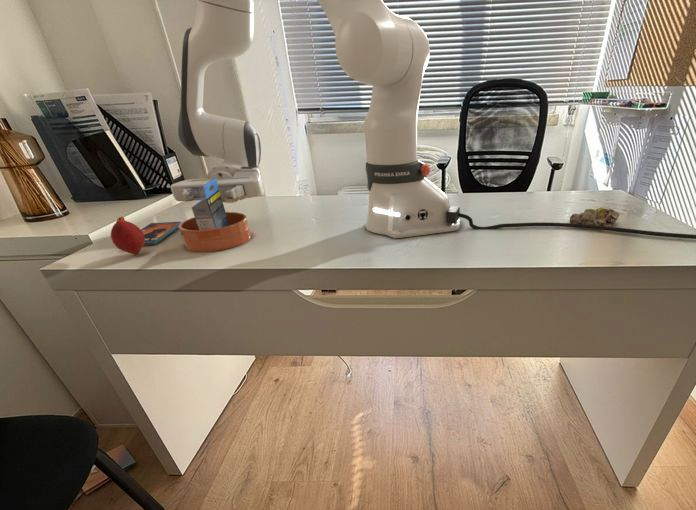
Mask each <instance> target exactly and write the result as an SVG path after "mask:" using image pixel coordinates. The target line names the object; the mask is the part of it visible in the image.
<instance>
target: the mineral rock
mask: <svg viewBox="0 0 696 510" xmlns="http://www.w3.org/2000/svg"><path fill="white" fill-rule="evenodd" d="M619 217H620V212H618V211H616V210H614V209H613V208H605V207H599V208H595V209H593V208H586V209H585V210H584V212H580V213H572V214H571V216H570V217H569V223H573V224H587V225H598V226H608V227H613V225H614V224H615V223H616V222H617V221H618V220H619Z"/></svg>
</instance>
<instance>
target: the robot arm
mask: <svg viewBox="0 0 696 510" xmlns="http://www.w3.org/2000/svg"><path fill="white" fill-rule="evenodd" d="M316 1H317V3H318V4H319V6H320V8H321V9H322V10H323V13H324V14H325V16H326V18H327V20H328V22H329V24H330V26H331V29H332V32H333V35H334V37H335V40H334V41H335V44H334V47H335V48H334V49H335V54H336V58H337V62H338V64H339V66H340V68H341V69H342V71H343V72H344V73H345V74H346V75H347V76H348V77H349V78H350V79H352V80H355V81H357V82H358V83H361V84H363V85H366V86H372V90H371V99H370V104H369V108H368V110H367V113H366V116H365V118H364V122H363V126H364V128H363V129H364V138H365V139H364V140H365V152H366V162H365V182H366V187H367V190H368V207H367V218H366V222H365V228H366V230H367V231H369V232H371V233H374V234H377V235H383V236H384V235H385V236H387V237H390V238H394V239H401V238H402V239H403V238H409V237H416V236H424V235H425V236H426V235H432V234H440V233H449V232H455V231H458V230H460V228H461V220H460V218H462V219H465V220H467V221H468V224H469V227H470V228H472V229H474V230H496V229H503V228H522V227H523V228H525V227H558V228H559V227H560V228H578V229H587V230H588V229H590V230H598V231H606V232H617V233H626V234H635V235H642V236H643V235H645V236H651V237H652V236H653V237H664V238H677V239H688V240H689V239H691V240H696V234H693V233H691V234H690V233H677V232H663V231H653V230H644V229H643V230H642V229H634V228H625V227H618V226H612V227H608V226H598V225H587V224H573V223H570V222H545V221H544V222H543V221H541V222H538V221H537V222H513V223H512V222H511V223H508V222H507V223H498V224H494V225H487V226H479V225H476V224H474V222H473V218H472V217H471V216H470V215H468V214H466V213H461V206H458V205H457V206H456V205H455V206H454V205H451V204H450V199H449V197H448V195H447V194H446V193H445V192H444V191H443V190H441V189H440V188H439V187H438V186H436V184H434V183H433V182H432V181H430V179H428V178H427V176H428V175H429V174H430V173H431V170H432V169H431V167H430V166H429V164H427V163H425V162H423V161H422V160H419V159H418V115H419V114H418V113H419V105H420V98H421V92H422V86H423V79H424V73H425V70H426V68H427V66H428V64H429V60H430V55H431V54H430V53H431V50H430V49H431V47H430V42H429V38H428V37H427V34H426V33H425V31H424V30H423V29H422V28H421V26H420V25H419V24H418V23H417V22H416V21H415V20H414V19H412V18H410V17H408V16H404V15H399V14H396V13H395V12H393V11H391V9H389V7H387V5H386V4H385V3H384V1H383V0H316ZM196 6H197V7H196V15H195V20H194V23H193V25H192V26H191V27H189V28H187V29H185V32H184V35H183V41H182V47H181V48H182V49H181V51H182V52H181V75H180V109H179V116H178V125H177V126H178V127H177V134H178V139H179V141H180V144H182V146H183V147H184V148H185V149H186V150H187V151H188V152H189V153H190V154H192V155H193V156H197V157H207V158H209V157H210V158H217V159H220V160H221V159H222V160H223V161H222V162H220V163H218V164H216V165H214V166H213V167H211V168H210V169H209V170H208V172H207V174H206V178H191V179H189V178H188V179H184V180H181V181H178V182H175V183H173V184H171V185H170V190H171V193H172V196H173V199H174V200H175V201H176V202H186V203H187V202H194V201H201V200H202V199H204V198H205V197H206V196H205V193H204V189H203V185H205V184H206V183H208V182H209V181H211V180H213V179H214V178H215V177H216V179H217V183H218V188H219V192H220V195H221V198H222V202H223V203H226V204H233V203H236V202H238V201H244V200H245V199H251V198H259V197H263V196H264V195H265V188H264V181H263V177H262V174H261V170H260V168H258V167H259V165H260V163H261V157H262V156H261V155H262V147H261V139H260V136H259V135H258V132H257V131H256V129H255V128H254V126H253V125H252V124H251V123H250V122H249V121H248V120H247V121H246V120H242V119H238V118H234V117H227V116H222V115H216V114H212V113H208V112H206V111H205V109H204V91H205V90H204V89H205V88H204V87H205V85H204V84H205V74H206V71H207V69H208V67H210V66H211V65H213V64H215V63H219V62H223V61H227V60H232V59H235V58H238V57H241V56H242V55H244V54H246V53H247V51H249V49H250V48H251V47H252V44H253V42H254V35H255V10H254V9H255V8H254V0H196ZM213 189H214V188H213V186H212V187H211V186H210V188H209V191H211V190H213Z"/></svg>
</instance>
